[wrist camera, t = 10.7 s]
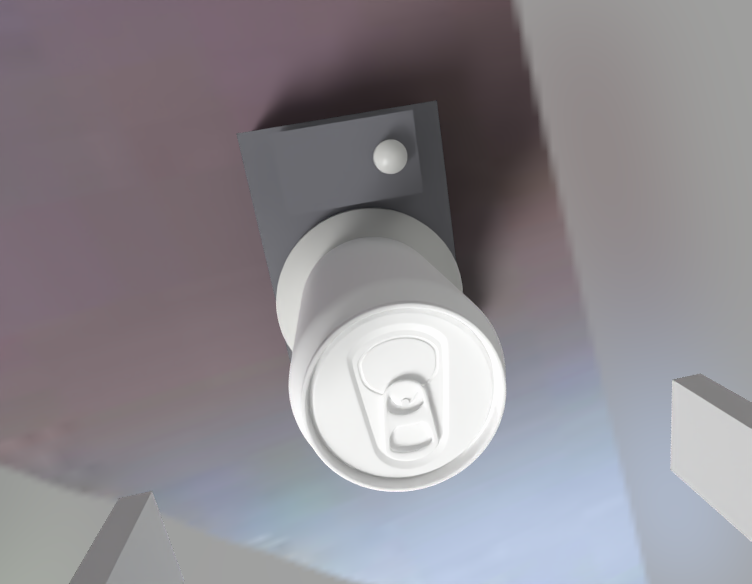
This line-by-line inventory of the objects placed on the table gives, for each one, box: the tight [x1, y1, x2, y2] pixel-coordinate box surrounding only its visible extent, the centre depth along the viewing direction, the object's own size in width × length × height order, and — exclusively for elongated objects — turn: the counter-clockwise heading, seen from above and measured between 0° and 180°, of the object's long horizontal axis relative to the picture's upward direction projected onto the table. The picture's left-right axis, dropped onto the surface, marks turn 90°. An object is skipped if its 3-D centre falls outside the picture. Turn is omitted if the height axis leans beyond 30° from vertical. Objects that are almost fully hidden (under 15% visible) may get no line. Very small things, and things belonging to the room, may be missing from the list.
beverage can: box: [289, 237, 506, 492], centre depth 22 cm, size 8×8×12 cm
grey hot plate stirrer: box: [237, 100, 463, 363], centre depth 28 cm, size 16×11×8 cm
